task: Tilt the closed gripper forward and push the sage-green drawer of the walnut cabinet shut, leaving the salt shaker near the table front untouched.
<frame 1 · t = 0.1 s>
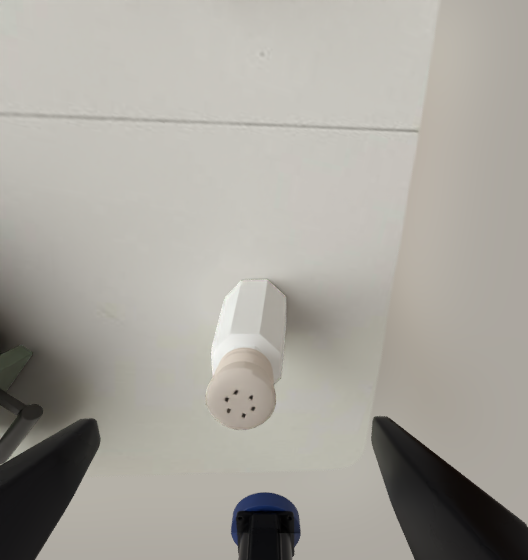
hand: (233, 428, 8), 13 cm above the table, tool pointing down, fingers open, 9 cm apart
salt shaker: (255, 307, 20), on the table
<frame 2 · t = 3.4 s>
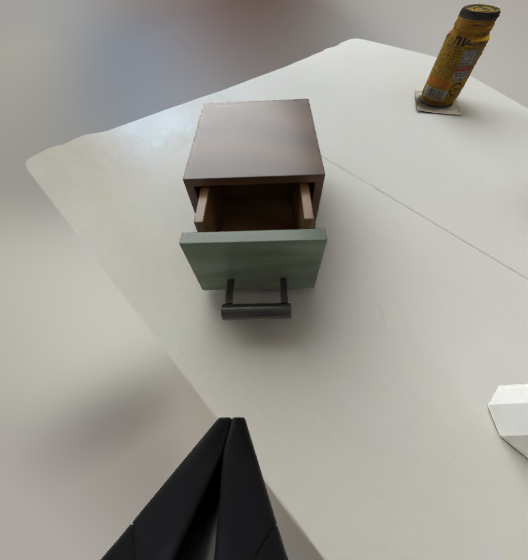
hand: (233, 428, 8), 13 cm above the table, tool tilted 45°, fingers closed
salt shaker: (523, 421, 19), on the table
cabinet: (259, 202, 33), on the table
drawer: (256, 229, 24), point 5 cm above the table, slide at 5.5 cm
condiment: (435, 104, 46), on the table
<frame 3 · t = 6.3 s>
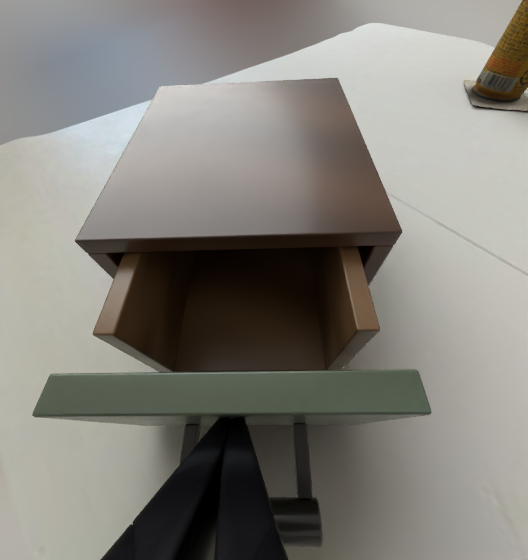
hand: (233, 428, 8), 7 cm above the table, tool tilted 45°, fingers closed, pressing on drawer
cabinet: (254, 246, 21), on the table
drawer: (245, 314, 12), point 5 cm above the table, slide at 4.7 cm, touching gripper
condiment: (494, 97, 34), on the table
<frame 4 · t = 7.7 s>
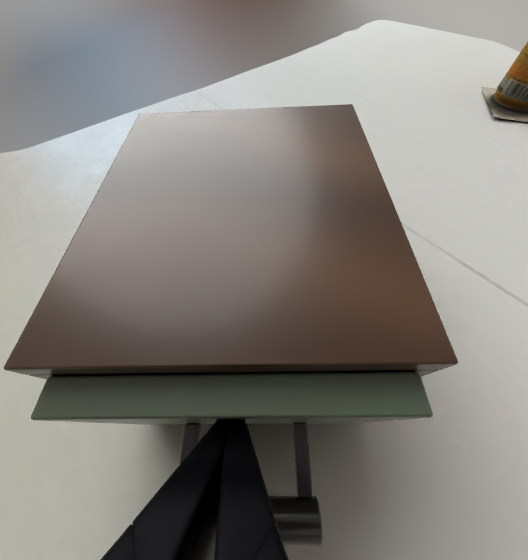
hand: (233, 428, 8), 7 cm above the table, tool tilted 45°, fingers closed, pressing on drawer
cabinet: (253, 292, 18), on the table
drawer: (245, 313, 12), point 5 cm above the table, slide at 0.0 cm, touching cabinet, gripper
condiment: (516, 107, 31), on the table
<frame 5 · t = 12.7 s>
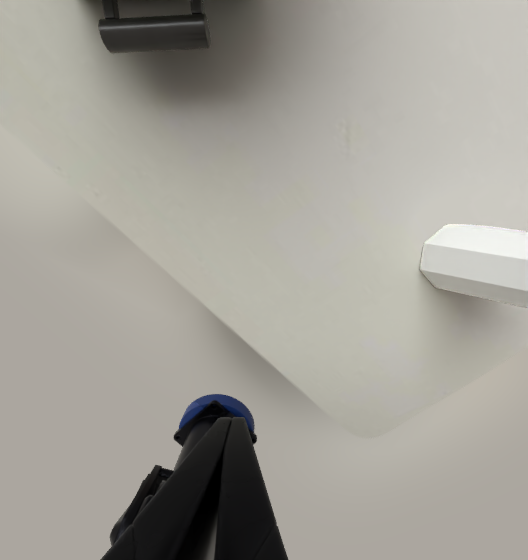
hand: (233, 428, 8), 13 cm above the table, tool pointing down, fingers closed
salt shaker: (450, 256, 19), on the table
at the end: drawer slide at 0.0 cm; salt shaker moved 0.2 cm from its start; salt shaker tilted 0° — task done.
